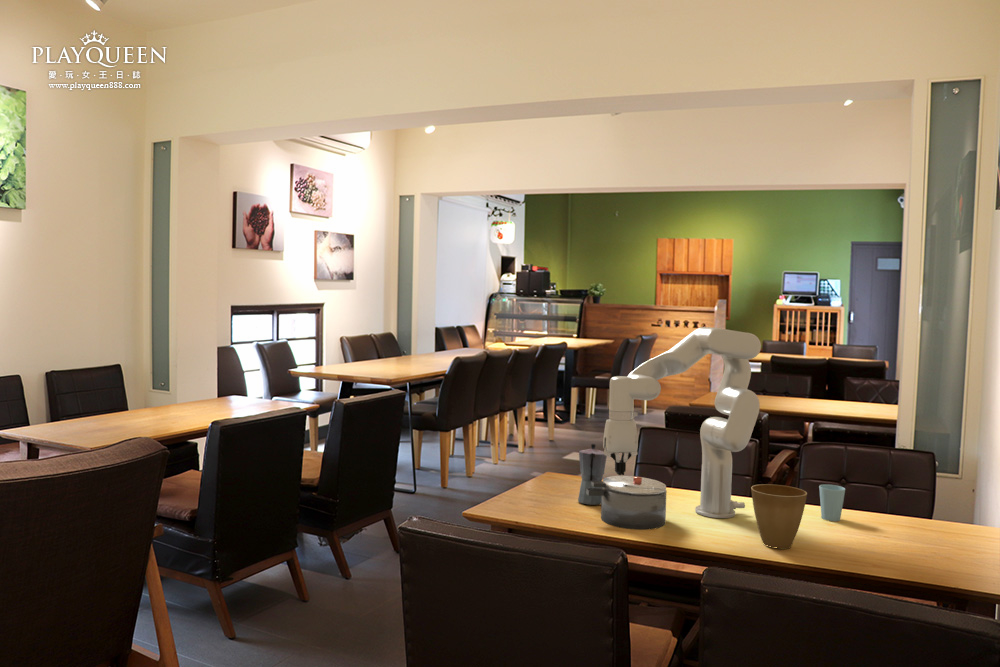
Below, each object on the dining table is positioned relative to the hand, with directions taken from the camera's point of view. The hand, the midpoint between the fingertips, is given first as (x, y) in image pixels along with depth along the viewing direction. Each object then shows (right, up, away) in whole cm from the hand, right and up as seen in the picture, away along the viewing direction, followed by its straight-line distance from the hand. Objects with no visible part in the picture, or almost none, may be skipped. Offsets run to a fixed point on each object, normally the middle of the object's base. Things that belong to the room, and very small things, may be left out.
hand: (620, 474), depth 228 cm
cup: (+70, -16, +8) cm, 72 cm away
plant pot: (+41, -17, -20) cm, 49 cm away
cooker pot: (+2, -15, +1) cm, 15 cm away
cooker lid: (+3, -4, 0) cm, 5 cm away
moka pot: (-6, -14, +20) cm, 25 cm away
